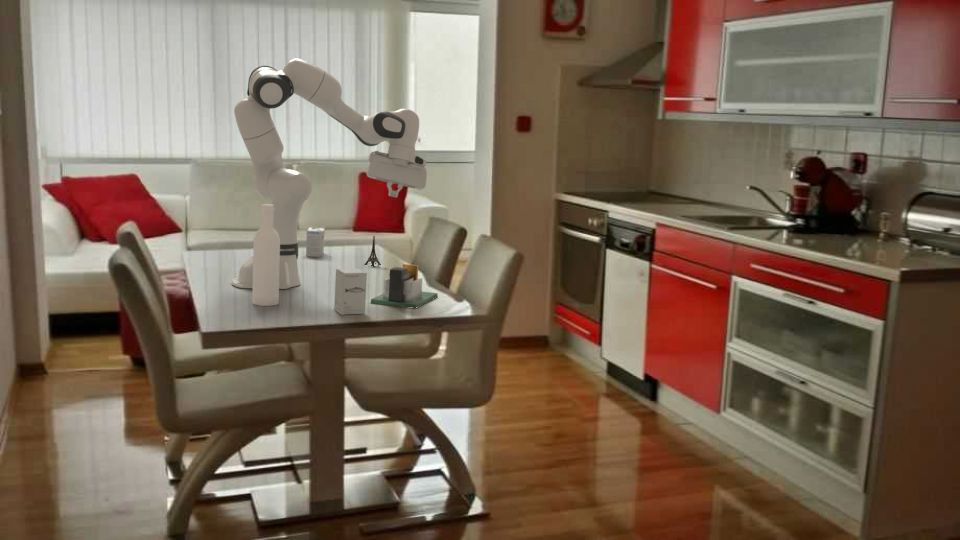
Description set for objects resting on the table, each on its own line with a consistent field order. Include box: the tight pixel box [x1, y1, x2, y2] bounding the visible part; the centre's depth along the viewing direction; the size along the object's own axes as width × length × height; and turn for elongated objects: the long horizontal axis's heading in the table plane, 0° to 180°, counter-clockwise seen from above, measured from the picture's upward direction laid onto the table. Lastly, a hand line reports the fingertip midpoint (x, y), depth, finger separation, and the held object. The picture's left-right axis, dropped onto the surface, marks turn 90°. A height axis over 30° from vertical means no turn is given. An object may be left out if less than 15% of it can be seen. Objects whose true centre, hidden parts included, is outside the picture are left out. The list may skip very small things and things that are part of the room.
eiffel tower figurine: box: [363, 235, 381, 266], centre depth 339 cm, size 15×10×13 cm
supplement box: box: [333, 268, 368, 316], centre depth 255 cm, size 7×7×13 cm
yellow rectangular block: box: [402, 263, 419, 281], centre depth 276 cm, size 11×5×8 cm, turn 164°
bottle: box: [251, 203, 280, 307], centre depth 258 cm, size 8×8×30 cm
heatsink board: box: [370, 266, 439, 309], centre depth 278 cm, size 21×15×11 cm
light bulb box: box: [305, 226, 325, 258], centre depth 357 cm, size 11×7×11 cm, turn 6°
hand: (392, 196), depth 290 cm, fingers closed
